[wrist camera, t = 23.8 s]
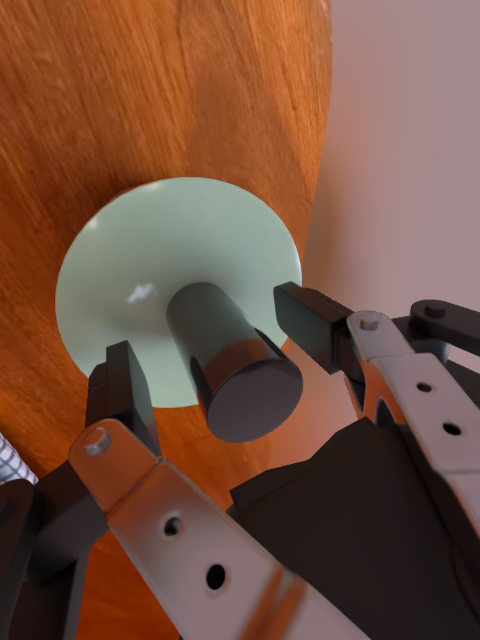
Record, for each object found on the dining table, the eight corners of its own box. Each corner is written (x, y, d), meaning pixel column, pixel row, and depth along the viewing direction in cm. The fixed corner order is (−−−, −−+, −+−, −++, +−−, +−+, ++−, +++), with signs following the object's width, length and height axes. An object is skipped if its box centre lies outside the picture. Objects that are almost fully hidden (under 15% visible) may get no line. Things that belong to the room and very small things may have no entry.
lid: (281, 151, 12) (444, 134, 6) (296, 349, 18) (387, 434, 12) (-8, 215, 9) (-200, 293, 3) (123, 424, 15) (134, 582, 9)
